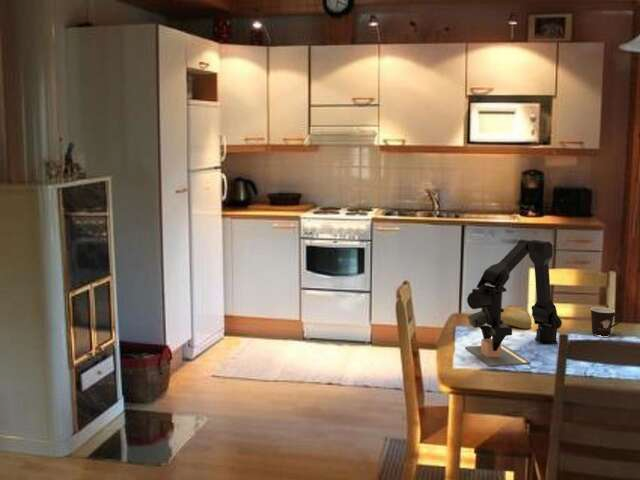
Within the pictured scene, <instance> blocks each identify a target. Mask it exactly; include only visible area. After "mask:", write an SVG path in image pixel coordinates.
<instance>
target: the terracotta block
mask: <svg viewBox="0 0 640 480" xmlns="http://www.w3.org/2000/svg"><path fill="white" fill-rule="evenodd" d="M501 345H502V343H501V344H500V346H499V347H498V349H497V351H493V343H492V338H491V339H484V338H482V339H481V345H480V346H481V353H482V354H483V355H485V356H486V357H500V353H501Z"/></svg>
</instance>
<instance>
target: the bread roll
mask: <svg viewBox="0 0 640 480" xmlns="http://www.w3.org/2000/svg"><path fill="white" fill-rule="evenodd" d="M502 308H503V309H504V312H501V320H503V323H502V324H501V325H504V324H506V325H507V326H509V327H515V328H520V329H524V330H527V329H528V330H529V329H530V328H531V326H532V317H531V315H530V313H529V311H528V310H527V309H526V308H524V307H523V306H517V305H508V306H505V307H502Z"/></svg>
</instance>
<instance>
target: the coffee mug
mask: <svg viewBox="0 0 640 480" xmlns="http://www.w3.org/2000/svg"><path fill="white" fill-rule="evenodd" d="M615 311H616V310H615V309H612V308H608V307H603V306H595V307H591V308H590V315H591V316H590V317H591V318H590V319H591V334H592V333H593V334H596V335H601V336H608V335H610V336H611V332H612V331H611V330H612V328H614V327H615V326H617V325H618V324H620V323H621V322H622V321H623V315H622V314H621V313H620V312H615ZM617 315H618V316H619V315H620V319H619V320H618V321H617V322H616V323H614V324H613V321H614V317H615V316H617Z"/></svg>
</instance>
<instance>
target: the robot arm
mask: <svg viewBox="0 0 640 480" xmlns="http://www.w3.org/2000/svg"><path fill="white" fill-rule="evenodd" d="M553 251H554V247H553V244H552V243H551V242H550V241H548V240H547V241H546V240H541V239H530V240H529V239H523V238H522V239H519V240H517V244H516V245H515V246H514V247H513V248H511V250H509V252H508V253H507V254H506V255H505V256H504V257H503V258H502V259H501V260H500V261H499V262H498V263H495V264H492V265H490V266H489V267H487V268H486V269H485V270H484V271H483V273H482V276H481V278H480V279H479V281H478V283H477V284H476V288H472V291H471V292H470V293H468V296H467V297H466V301H467V305H468V306H469V308H471V309H472V310H477V309H478V310H479V309H481V310H480V311H477V312H475V313H472V314H469V315H468V316H467V319H468V322H469V325H470V327H471V326H472V328H474V329H477V328H479V329H480V330H481V333H482V337H483V338H482V339H492V343H493V351H497V349H498V347H499V346H500V344H501V345H502V343H503V341H504V339H505V338H506V337H507V336H512V335H513V329H512V328H511V326H510V325H506V324H502V323H503V320H501V312H504V309H503V308H504V307H502V306H503V305H502V303H503V293H504V292H505V293H506V292H507V289H506V288H505V285H506V283H507V282H508V280H509V279H510V274H511V272H512V271H513V270H514V269H515V268H516V267H517V266H518V264H519V263H520V262H521V261H523V259H524V258H525V257H526V256H527V255H528V257H529V258H530V260H531V262H532V263H533V265H534V279H535V291H536V293H535V294H536V302H535V303H534V305H532V306H531V312H532V313H531V316H532V318H533V322H534V324H535V325H537V328H536V334H535V335H536V337H535V338H534V340H535V341H537V342H539V343H540V344H542V345H551V344H552V345H553V344H558V343H559V341H558V340H557V335H558V329H560V328H561V327H562V324H563V321H562V320H561V318H560V317H559V315H558V312H557V307H556V305H555V303H554V302H553V301H552V295H551V293H552V292H551V282H550V267H549V266H550V264H549V263H550V261H551V260H552V258H553V255H554V254H553ZM557 342H558V343H557Z"/></svg>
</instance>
